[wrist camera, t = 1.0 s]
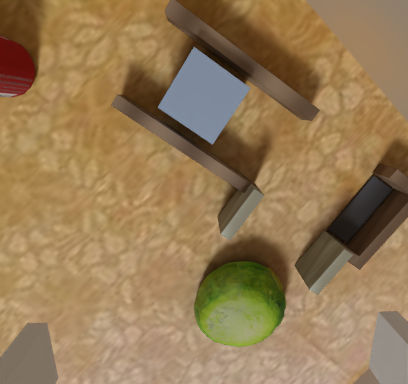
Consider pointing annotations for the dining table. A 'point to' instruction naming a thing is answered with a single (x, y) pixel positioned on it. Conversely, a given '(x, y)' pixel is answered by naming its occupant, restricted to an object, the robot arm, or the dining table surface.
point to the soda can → (15, 69)
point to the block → (203, 96)
